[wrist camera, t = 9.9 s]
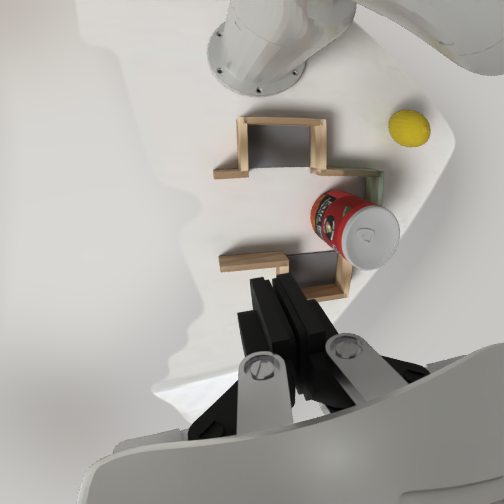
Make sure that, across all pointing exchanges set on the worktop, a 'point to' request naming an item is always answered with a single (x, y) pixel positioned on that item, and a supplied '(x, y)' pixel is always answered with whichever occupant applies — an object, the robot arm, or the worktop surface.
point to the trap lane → (298, 155)
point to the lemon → (409, 128)
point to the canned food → (356, 229)
